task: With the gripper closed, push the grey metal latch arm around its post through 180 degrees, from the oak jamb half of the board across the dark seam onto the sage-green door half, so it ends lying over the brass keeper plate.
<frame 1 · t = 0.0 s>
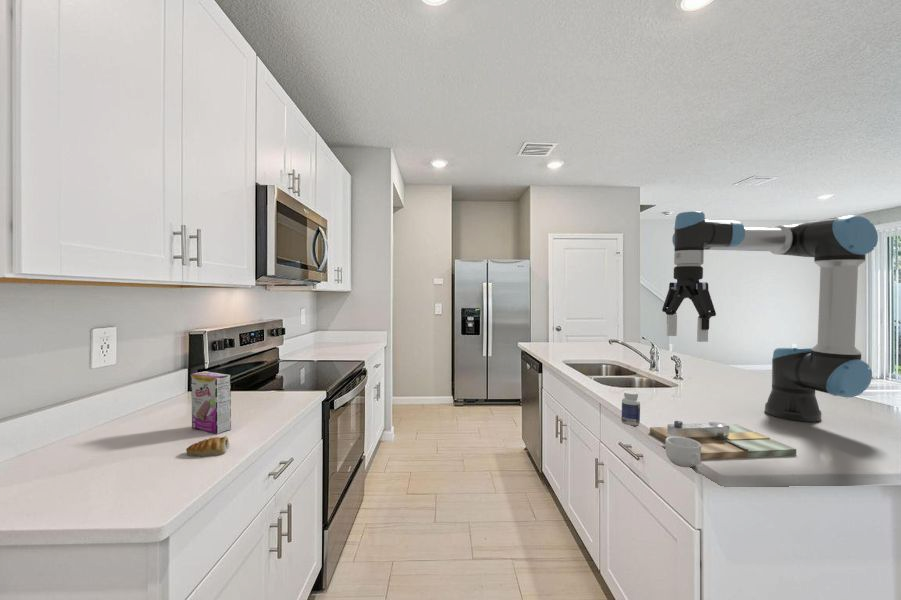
hand: (686, 338, 128), 28 cm above the table, fingers open, 13 cm apart
candy bar box: (211, 430, 128), on the table
teacup: (685, 466, 106), on the table
pill bottle: (630, 423, 138), on the table
latch arm: (699, 427, 120), point 4 cm above the table, hinge at 0.0°
door board: (718, 443, 121), on the table
pastry: (210, 453, 111), on the table
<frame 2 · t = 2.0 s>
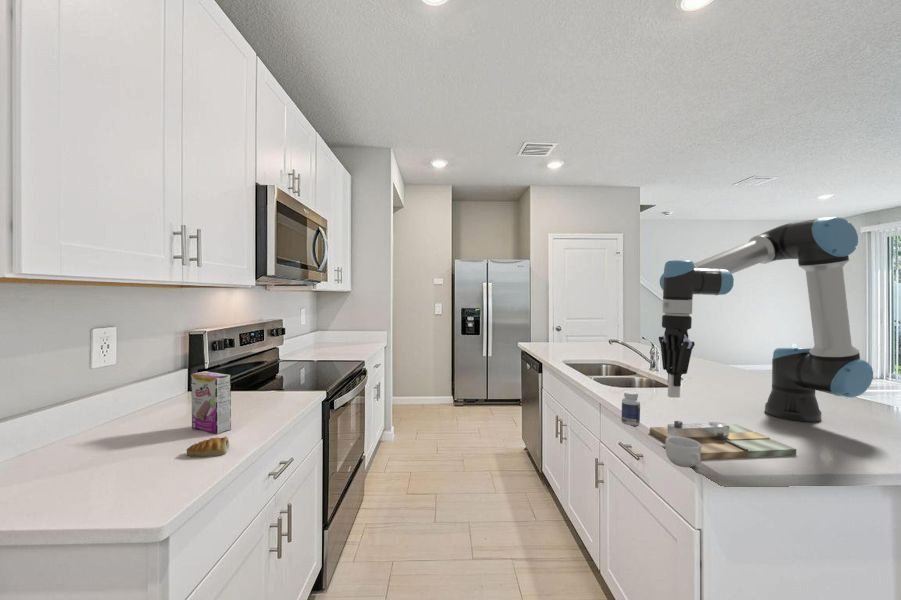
hand: (673, 396, 126), 12 cm above the table, fingers closed
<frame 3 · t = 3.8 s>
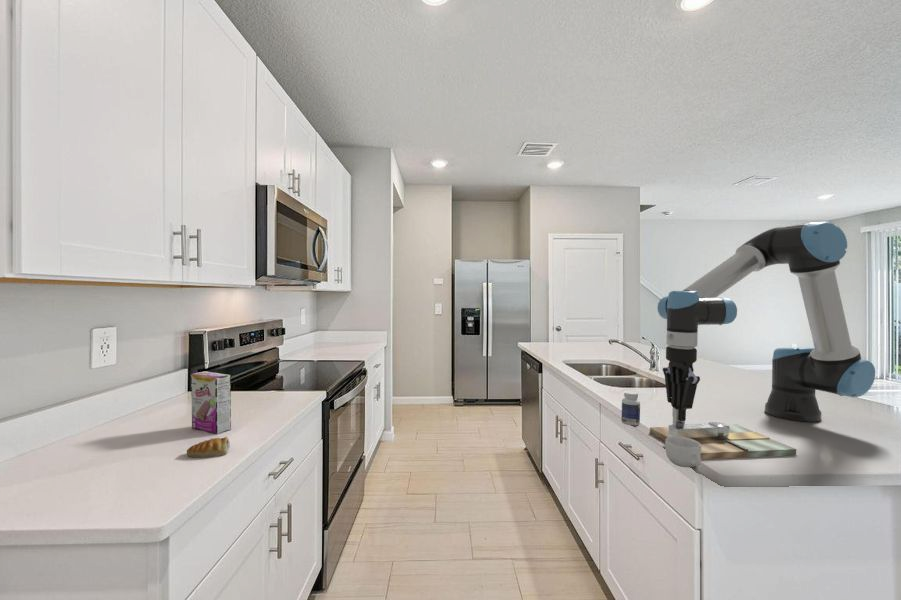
hand: (678, 431, 121), 3 cm above the table, fingers closed
latch arm: (700, 428, 120), point 4 cm above the table, hinge at 2.6°, touching gripper
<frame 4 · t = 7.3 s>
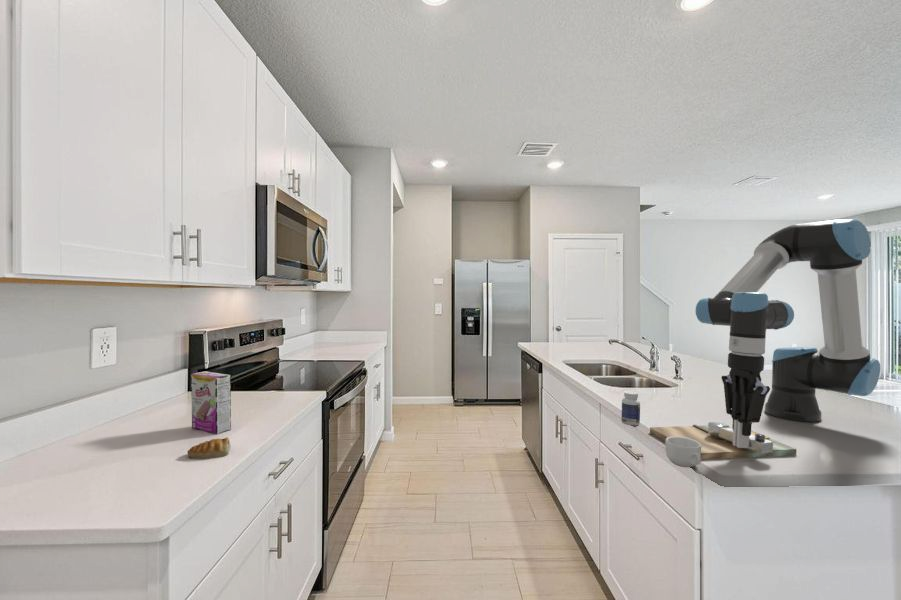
hand: (740, 446, 111), 3 cm above the table, fingers closed
latch arm: (737, 434, 115), point 4 cm above the table, hinge at 98.3°, touching gripper
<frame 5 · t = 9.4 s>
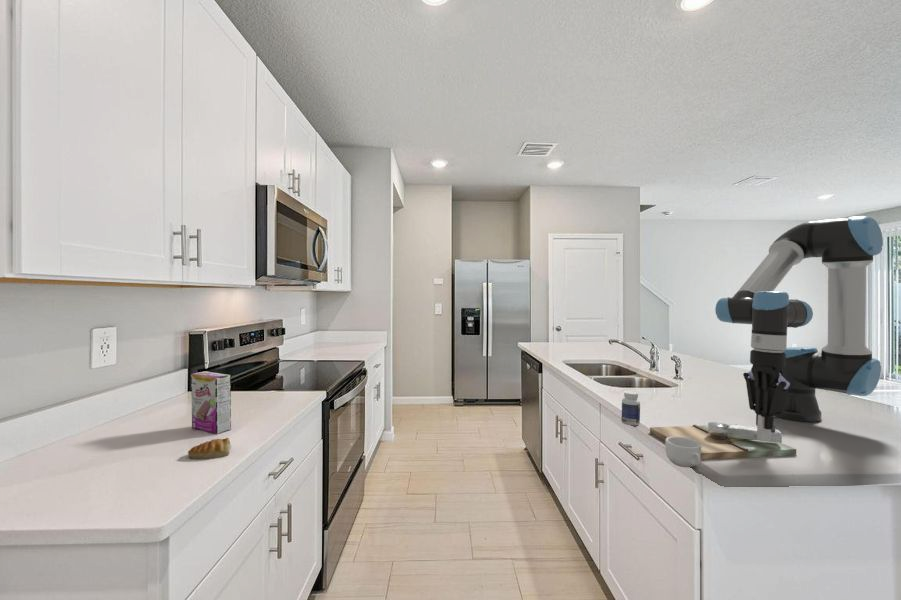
hand: (763, 440, 114), 3 cm above the table, fingers closed
latch arm: (743, 429, 119), point 4 cm above the table, hinge at 152.1°, touching gripper
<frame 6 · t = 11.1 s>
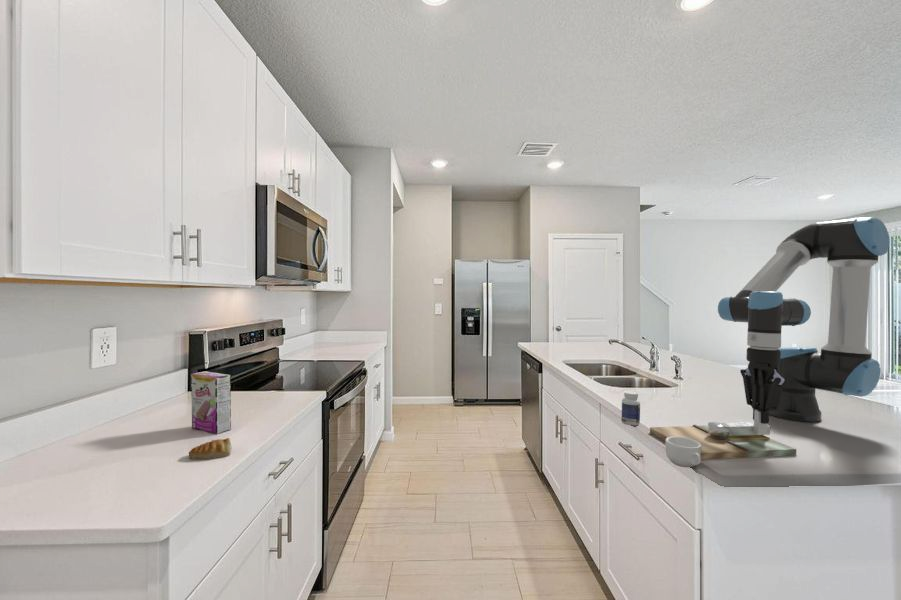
hand: (760, 433, 120), 3 cm above the table, fingers closed
latch arm: (737, 426, 121), point 4 cm above the table, hinge at 179.1°, touching gripper
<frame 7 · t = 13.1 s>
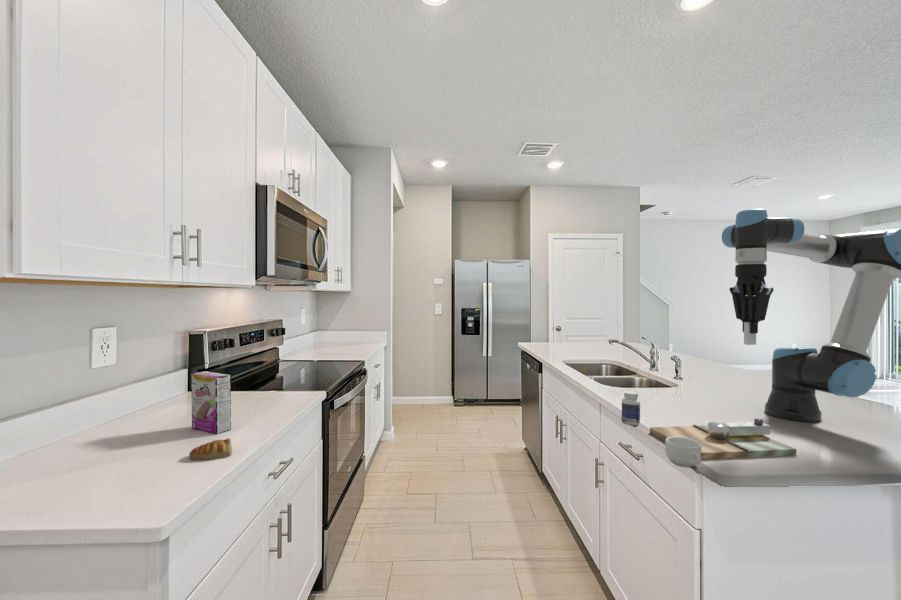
hand: (749, 344, 128), 27 cm above the table, fingers closed
latch arm: (737, 426, 121), point 4 cm above the table, hinge at 179.1°
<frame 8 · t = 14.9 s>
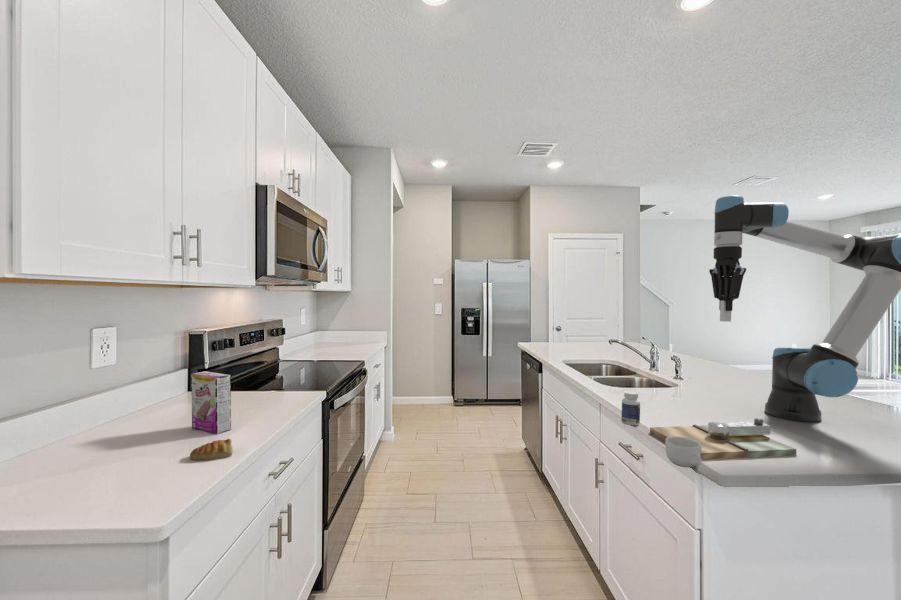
hand: (725, 321, 138), 32 cm above the table, fingers closed
at the end: latch arm at +179° (first picture: +0°); latch arm touching nothing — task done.
